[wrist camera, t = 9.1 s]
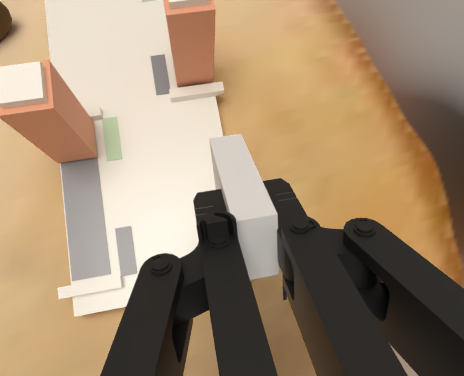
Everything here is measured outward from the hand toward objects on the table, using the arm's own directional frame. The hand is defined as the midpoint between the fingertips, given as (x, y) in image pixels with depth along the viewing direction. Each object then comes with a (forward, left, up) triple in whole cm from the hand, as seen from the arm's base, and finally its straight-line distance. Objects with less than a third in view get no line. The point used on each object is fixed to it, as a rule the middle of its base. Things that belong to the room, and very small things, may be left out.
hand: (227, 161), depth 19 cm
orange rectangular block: (0, +12, -12) cm, 17 cm away
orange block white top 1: (-10, +7, -12) cm, 17 cm away
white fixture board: (-5, +9, -14) cm, 18 cm away
